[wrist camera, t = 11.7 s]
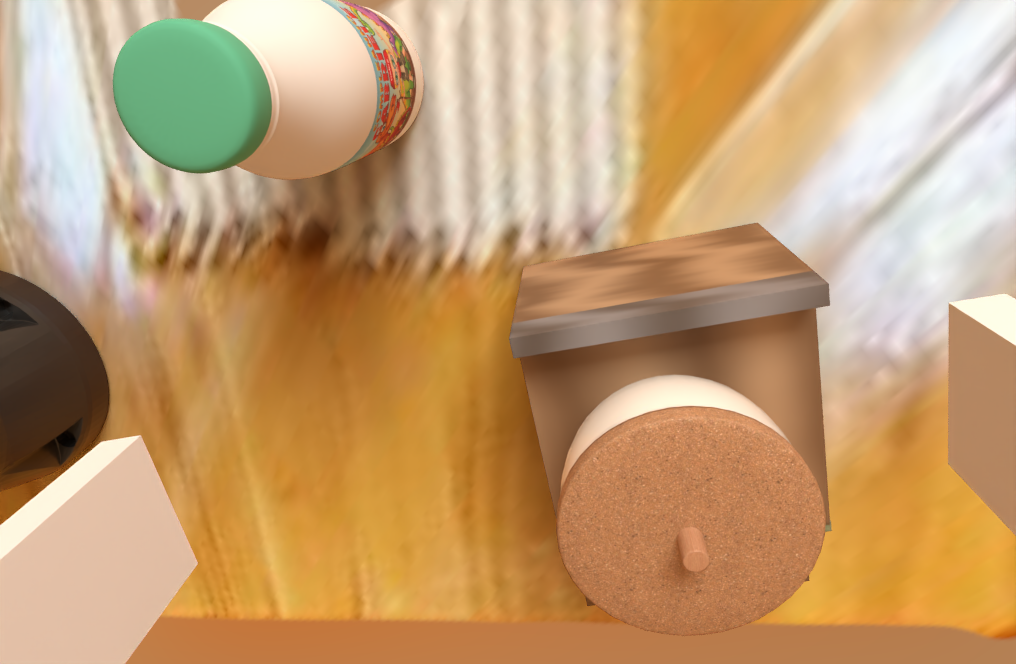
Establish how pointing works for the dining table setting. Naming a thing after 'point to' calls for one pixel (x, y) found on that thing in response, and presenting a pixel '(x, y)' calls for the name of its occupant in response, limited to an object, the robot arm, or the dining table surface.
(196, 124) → the milk bottle
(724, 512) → the lidded jar
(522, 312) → the stepped stand
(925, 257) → the dining table surface
